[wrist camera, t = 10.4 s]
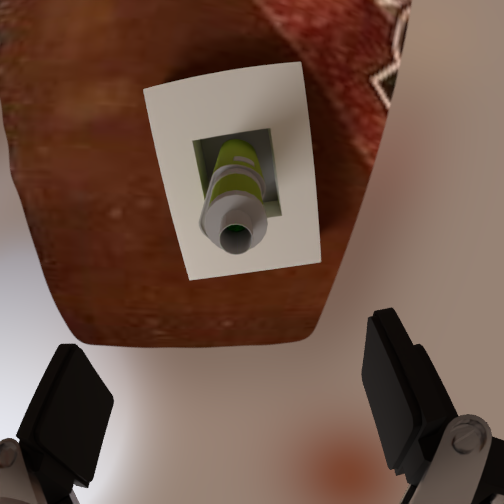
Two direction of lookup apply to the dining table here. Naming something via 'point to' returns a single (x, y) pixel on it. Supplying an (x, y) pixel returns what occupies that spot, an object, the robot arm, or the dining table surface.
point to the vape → (235, 200)
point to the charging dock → (268, 153)
